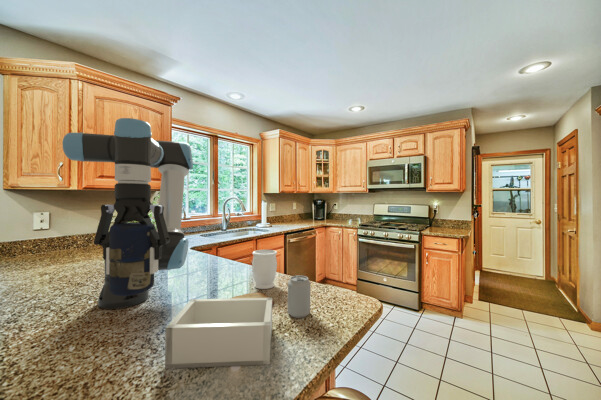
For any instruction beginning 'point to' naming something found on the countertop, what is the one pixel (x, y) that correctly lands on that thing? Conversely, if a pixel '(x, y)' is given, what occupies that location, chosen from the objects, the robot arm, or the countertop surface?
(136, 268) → the canister
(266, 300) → the open box
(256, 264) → the jar
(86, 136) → the robot arm
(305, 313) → the can
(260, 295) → the bread slice
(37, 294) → the countertop surface
